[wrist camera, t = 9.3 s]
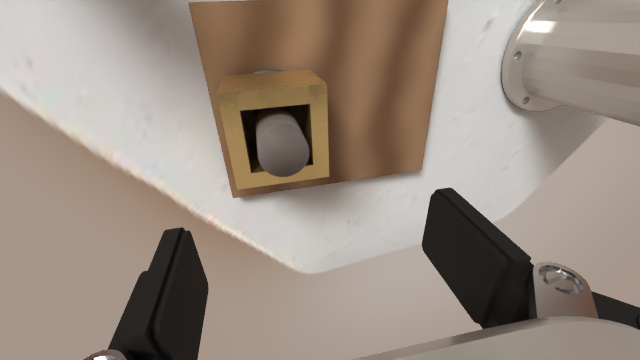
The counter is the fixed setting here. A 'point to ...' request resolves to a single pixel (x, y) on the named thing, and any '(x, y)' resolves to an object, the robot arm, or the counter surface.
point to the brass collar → (271, 93)
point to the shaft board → (330, 79)
